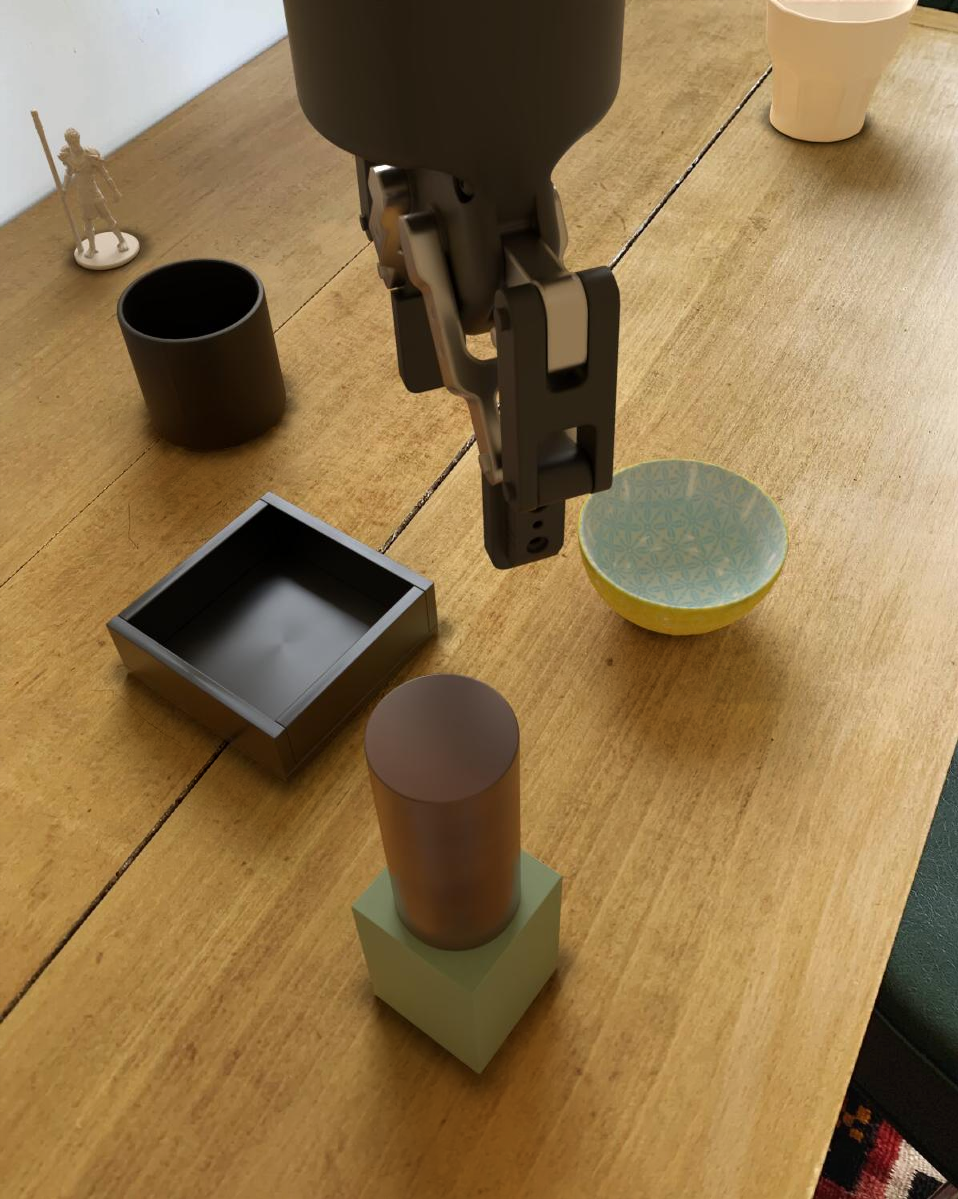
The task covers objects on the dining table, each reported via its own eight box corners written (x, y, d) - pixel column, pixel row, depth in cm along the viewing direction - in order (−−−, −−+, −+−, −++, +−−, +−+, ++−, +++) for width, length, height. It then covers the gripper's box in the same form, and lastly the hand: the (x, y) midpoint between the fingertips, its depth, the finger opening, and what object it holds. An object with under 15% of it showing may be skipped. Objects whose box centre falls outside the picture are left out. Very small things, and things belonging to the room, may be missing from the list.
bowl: (812, 609, 64) (835, 534, 59) (672, 715, 60) (684, 644, 55) (671, 504, 70) (681, 429, 65) (533, 594, 66) (534, 520, 61)
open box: (288, 785, 58) (274, 739, 54) (126, 672, 63) (105, 624, 60) (439, 631, 64) (434, 582, 61) (280, 540, 69) (268, 490, 66)
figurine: (68, 270, 90) (16, 125, 81) (82, 235, 93) (34, 92, 84) (132, 268, 90) (88, 123, 80) (145, 233, 93) (103, 90, 84)
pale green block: (479, 1075, 48) (471, 996, 41) (374, 994, 50) (350, 906, 43) (558, 966, 51) (563, 875, 44) (455, 894, 53) (444, 797, 47)
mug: (183, 342, 83) (153, 233, 76) (314, 390, 79) (293, 279, 72) (96, 415, 78) (54, 304, 71) (230, 470, 73) (199, 359, 67)
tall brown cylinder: (469, 977, 41) (455, 833, 33) (368, 903, 44) (330, 750, 35) (545, 878, 44) (550, 720, 36) (446, 812, 46) (429, 649, 38)
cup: (737, 144, 100) (757, 15, 91) (756, 83, 107) (776, -42, 99) (881, 161, 97) (915, 29, 88) (890, 96, 105) (922, -31, 96)
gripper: (205, -195, 26) (307, 361, 39) (366, 42, 18) (432, 665, 30) (501, -235, 28) (508, 313, 40) (788, -35, 19) (685, 590, 31)
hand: (476, 463), depth 35 cm, fingers open, 8 cm apart
